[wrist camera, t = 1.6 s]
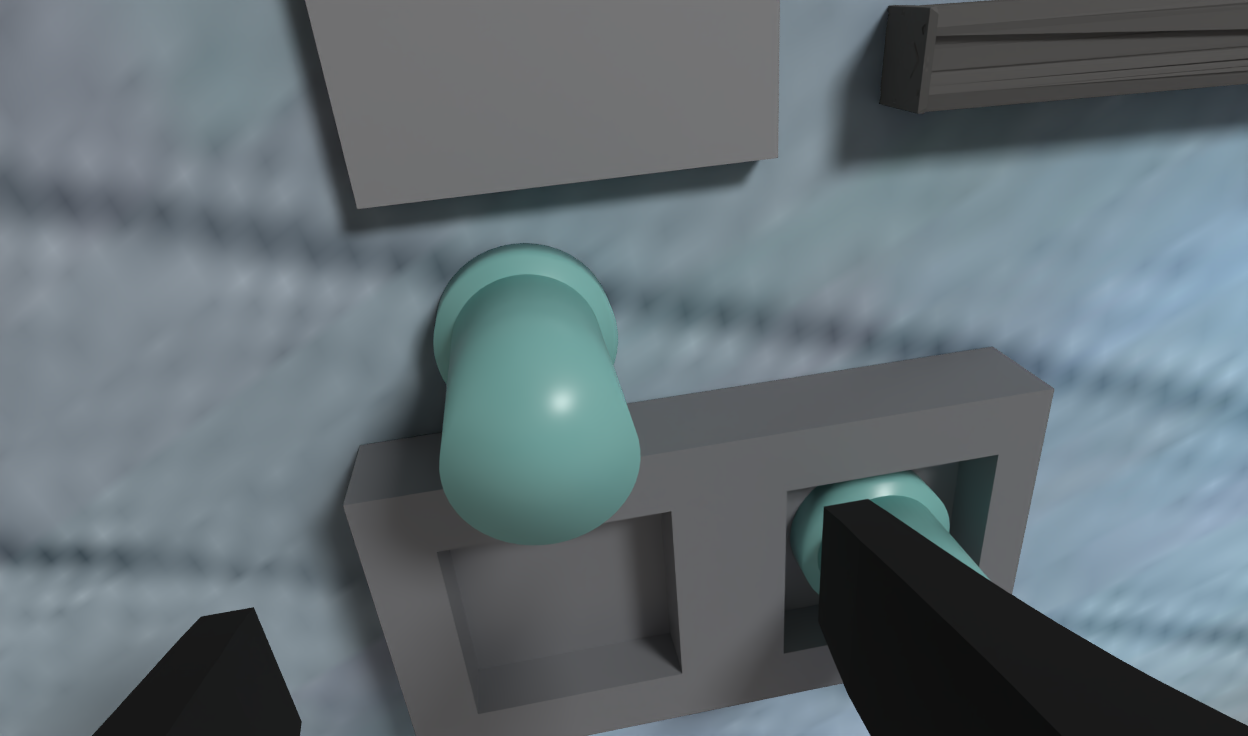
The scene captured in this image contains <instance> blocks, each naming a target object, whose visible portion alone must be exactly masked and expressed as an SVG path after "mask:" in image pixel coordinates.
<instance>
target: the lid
mask: <svg viewBox="0 0 1248 736" xmlns="http://www.w3.org/2000/svg"><path fill="white" fill-rule="evenodd" d="M305 2H306V6H307V10H308V14H309V18H310V22H311V26H312V30H313V34H314V38H315V42H316V46H317V50H318V54H319V58H320V62H321V66H322V70H323V74H324V78H325V82H326V86H327V90H328V94H329V98H330V102H331V106H332V110H333V114H334V118H335V122H336V126H337V130H338V134H339V138H340V142H341V146H342V150H343V154H344V158H345V162H346V166H347V170H348V174H349V178H350V182H351V186H352V190H353V194H354V198H355V202H356V206H357V209H363V208H371V207H379V206H387V205H396V204H404V203H412V202H420V201H428V200H437V199H445V198H453V197H461V196H469V195H478V194H486V193H494V192H502V191H510V190H519V189H527V188H535V187H543V186H551V185H560V184H568V183H576V182H584V181H592V180H601V179H609V178H617V177H625V176H633V175H642V174H650V173H658V172H666V171H674V170H683V169H691V168H699V167H707V166H715V165H724V164H732V163H740V162H748V161H756V160H765V159H773V158H778V112H779V21H780V0H305Z"/></svg>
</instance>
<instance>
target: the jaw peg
mask: <svg viewBox="0 0 1248 736" xmlns="http://www.w3.org/2000/svg"><path fill="white" fill-rule="evenodd" d="M617 346H618V331H617V325H616V320H615V317H614V314H613V311H612V308H611V306H610V303H609V301H608V298H607V296H606V294H605V292H604V290H603V288H602V286H601V284H600V283H599V281H598V280H597V278H596V277H595V275H594V274H593V273H592V272H591V271H590V270H589V269H588V268H587V267H586V266H585V265H584V264H582V263H581V262H580V261H579V260H577V259H576V258H574V257H573V256H571V255H569V254H567V253H565V252H563V251H561V250H558V249H555V248H552V247H549V246H545V245H539V244H529V243H520V244H510V245H505V246H500V247H497V248H494V249H491V250H488V251H486V252H484V253H482V254H480V255H478V256H476V257H475V258H473V259H472V260H470V261H469V262H468V263H466V264H465V265H464V266H463V267H462V268H461V269H459V271H458V272H457V273H456V274H455V275H454V276H453V277H452V279H451V280H450V282H449V283H448V285H447V286H446V288H445V290H444V292H443V294H442V296H441V299H440V302H439V306H438V310H437V316H436V322H435V329H434V336H433V348H434V355H435V360H436V363H437V366H438V369H439V372H440V374H441V376H442V378H443V380H444V381H445V383H446V385H447V390H446V400H445V410H444V420H443V430H442V439H441V449H440V459H439V472H440V478H441V483H442V486H443V490H444V493H445V495H446V497H447V499H448V501H449V503H450V504H451V505H452V507H453V508H454V510H455V511H456V512H457V513H458V514H459V515H460V517H461V518H462V519H463V520H464V521H466V522H467V523H468V524H469V525H471V526H472V527H473V528H475V529H477V530H478V531H480V532H482V533H483V534H485V535H488V536H490V537H492V538H495V539H498V540H501V541H504V542H508V543H513V544H519V545H548V544H555V543H560V542H564V541H568V540H571V539H574V538H577V537H579V536H582V535H584V534H586V533H588V532H590V531H592V530H593V529H595V528H597V527H598V526H600V525H601V524H603V523H604V522H605V521H607V520H608V519H609V518H610V517H611V516H613V515H614V514H615V513H616V512H617V511H618V510H619V508H620V507H621V506H622V505H623V504H624V502H625V501H626V499H627V498H628V496H629V495H630V493H631V491H632V489H633V487H634V485H635V482H636V479H637V476H638V473H639V467H640V445H639V439H638V436H637V433H636V430H635V427H634V424H633V421H632V418H631V415H630V412H629V410H628V407H627V404H626V401H625V398H624V395H623V392H622V389H621V387H620V384H619V381H618V378H617V375H616V372H615V369H614V366H613V365H614V361H615V358H616V354H617Z"/></svg>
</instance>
